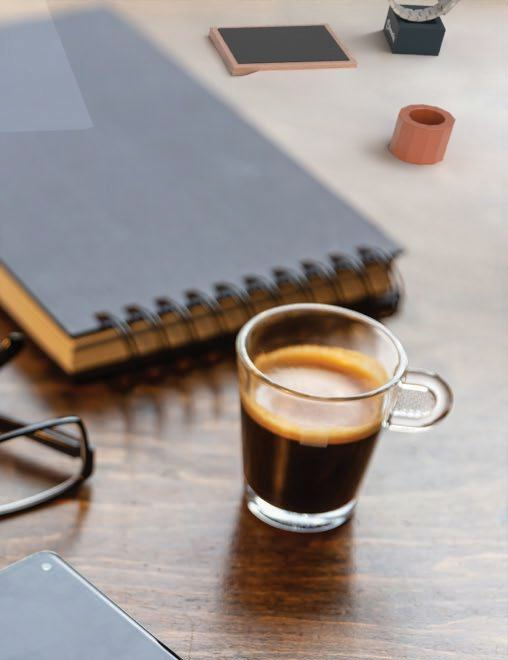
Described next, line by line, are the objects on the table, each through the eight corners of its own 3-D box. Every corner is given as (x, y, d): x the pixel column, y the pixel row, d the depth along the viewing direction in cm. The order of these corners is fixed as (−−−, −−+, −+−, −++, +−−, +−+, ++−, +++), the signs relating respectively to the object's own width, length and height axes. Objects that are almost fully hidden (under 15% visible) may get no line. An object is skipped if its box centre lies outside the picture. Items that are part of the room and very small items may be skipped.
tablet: (325, 31, 132) (327, 22, 132) (355, 72, 126) (358, 62, 125) (208, 35, 132) (210, 25, 131) (232, 75, 125) (234, 66, 124)
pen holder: (426, 156, 113) (442, 103, 110) (446, 182, 110) (463, 128, 107) (376, 158, 113) (391, 105, 110) (394, 184, 110) (410, 130, 107)
